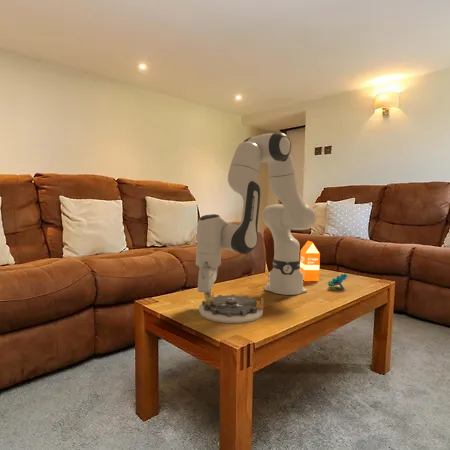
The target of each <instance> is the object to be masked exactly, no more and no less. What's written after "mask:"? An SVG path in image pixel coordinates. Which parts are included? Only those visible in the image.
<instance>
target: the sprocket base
mask: <svg viewBox="0 0 450 450" xmlns="http://www.w3.org/2000/svg"><path fill="white" fill-rule="evenodd" d="M264 299H265V298H264V297H261V298H260V309H257V313H252V312H251V313H248V314H246V316H242V315H231V317H227V315H222V314H216V315H214V314H212V312H211V311H209V310H206V311H205V310H203V306H202V303H200V305H199V307H198V313H199V315H200V316H201V317H202V318H204V319H206V320H209V321H213V322H217V323H223V324H242V323H243V324H245V323H251V322H254V321H257V320H259V319H260V318H262V317H263V315H264V313H263V312H264Z"/></svg>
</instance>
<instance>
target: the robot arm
mask: <svg viewBox="0 0 450 450" xmlns="http://www.w3.org/2000/svg"><path fill="white" fill-rule="evenodd" d="M291 149H292V142H291V140H290V138H289V136H287V134H285V133H283V132H274V133H263V134H259V135H256V136H250V137H248V138H246V139H244V140H243V141H242V142H240V143H239V144H238V145H237V148H236V149H235V151H234V154H233V157H232V160H231V162H230V166H229V168H228V169H229V170H228V174H227V183H228V185H229V187H230V188H231V189H232V190H233V192H236V193H237V194H239V196H241V197H242V202H243V203H242V204H243V205H242V212H241V221H240V223H239V224H235V223H229V222H227V221H226V220H224V219H222V217H221V216H220V215H219V214H214V213H213V214H205V215H202V216H201V217H199V219H198V221H197V225H196V237H195V238H196V240H195V241H196V244H197V246H196V249H195V265H196V266H197V267H198V270H199V271H198V277H197V278H198V279H197V291H198V293H204V295H205V294H206V293H212V286H214V283H215V282H216V280H217V277H218V270H219V267H220V266H221V265H222V263H221V262H222V261H221V258H222V257H221V256H222V249H223V250H228V251H231V252H232V251H233V252H235V253H238V254H242V255H248V254H249V253H252V251H254V249H255V248H256V247H257V244H258V239H259V236H258V234H259V233H258V223H259V222H258V221H259V214H260V213H259V212H260V205H261V187H260V185H259V184H258V177H259V173H260V172H259V171H260V166H261V163H262V164H263V163H264V164H265V163H267V170H268V178H269V179H268V180H269V185H270V192H271V194H272V195H273V196H274V197H275V198H276V199H278V200H279V201H280V203H275V204H271V205H267V206H265V208H264V209H263V211H262V216H261V217H262V222H263V223H264V224H265V226H266V227H267V228H268V229H269V231H270V233H271V236H272V239H273V249H274V250H273V251H274V252H273V253H274V257H273V259H272V267H273V268H272V269H271V270H270V271H269V273H268V276H267V278H268V279H267V280H268V282H267V284H265V286H264V290H265V291H267V292H271V293H273V294H277V295H278V294H279V295H287V296H289V295H290V296H291V295H292V296H294V295H300V294H302V293H303V294H304V293H307V292H308V289H307V288H306V287H304V281H303V273H302V272H301V271H300V252H301V249H300V247H301V246H300V242H299V240H298V239H296V238H295V237H294V236H293V234H292V232H291V230H295V231H303V230H309V229H311V228H313V227H314V225H315V223H316V221H317V214H316V211H315V209H314V208H313V207H312V206H311V205H309V203H307V202H306V201H305V199H304V198H303V197H302V195H301V193H300V191H299V187H298V183H297V182H298V181H297V178H296V173H295V172H296V170H295V165H294V162H293V157H292V154H291ZM203 299H205V296H204V298H203Z"/></svg>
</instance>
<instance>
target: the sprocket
mask: <svg viewBox="0 0 450 450" xmlns="http://www.w3.org/2000/svg"><path fill="white" fill-rule="evenodd" d="M204 297H205V298H204V300H202V302H201V304H202V306H203V310H205V311H206V310H209V311H211V312H212V314H214V315H216V314H222V315H227V317H231V315H242V316H246V314H248V313H251V312H252V313H257V309H260V305H261V300H258V299H256V298H253V299H252V298H250V297H248V296H247V295H243V296H241V295H236V294H230V295H222V294H218V295H217V296H215V294H214V293H213V292H211V293H206V294H204Z"/></svg>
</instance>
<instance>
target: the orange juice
mask: <svg viewBox="0 0 450 450" xmlns="http://www.w3.org/2000/svg"><path fill="white" fill-rule="evenodd" d="M320 256H321V253H320V251H319V250H318V248H317V247H316V245H315V244H314V242H313V241H310V240H307V241H306V242H305V244H304V245H303V246H302V247H301V249H300V253H299V260H300V271H301V272H302V273H303V280H304V281H320V265H321V263H320V261H321V260H320V259H321V257H320ZM304 281H303V282H304Z"/></svg>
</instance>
